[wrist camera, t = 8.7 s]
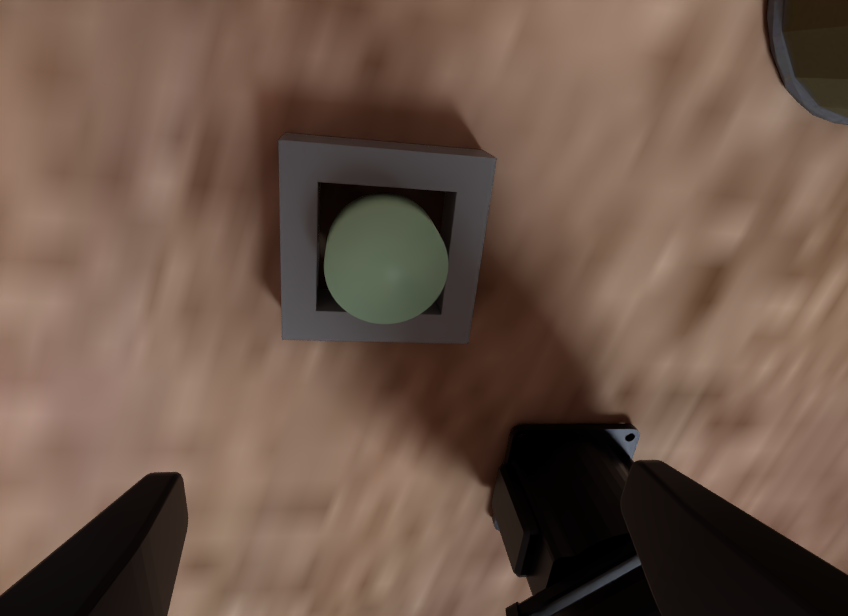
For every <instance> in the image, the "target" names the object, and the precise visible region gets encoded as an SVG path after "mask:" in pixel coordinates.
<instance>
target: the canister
mask: <svg viewBox="0 0 848 616" xmlns="http://www.w3.org/2000/svg"><path fill="white" fill-rule="evenodd" d="M767 21H768V30H769V39H770V48H771V52H772V55H773V58H774V60H775V63H776V65H777V68H778V71H779V73H780V76H781V78H782V81H783V83H784V85H785V88H786V89H787V90H788V91H789V93H790V94H791V95H792V96H793V97H794V98H795V99H796V101H797V102H799V103H800V104H801V105H802V106H803V107H804V108H805V109H806V110H808V111H809V112H810V113H811V114H812V115H814V116H817V117H820V118H822V119H825V120H828V121H831V122H833V123H838V124H845V125H848V0H769V1H768V11H767Z"/></svg>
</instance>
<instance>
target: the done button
mask: <svg viewBox="0 0 848 616" xmlns="http://www.w3.org/2000/svg"><path fill="white" fill-rule="evenodd" d="M447 274H448V255H447V250H446V247H445V244H444V242H443V240H442V238H441V236H440V234H439V232H438V231H437V229H436V227H435V225H434V224H433V222H432V220H431V218H430V217H429V216H428V214H427V213H426V212H425V211H424V210H423V209H422V208H421V207H420V206H419V205H418V204H416V203H415V202H413V201H412V200H410V199H408V198H406V197H403V196H400V195H397V194H391V193H375V194H369V195H365V196H363V197H360V198H358V199H356V200H354V201H352V202H351V203H349V204H348V205H347V206H345V207H344V208H343V209H342V210H341V211H340V212H339V214H338V215H337V216H336V218H335V219H334V221H333V223H332V224H331V227H330V229H329V232H328V236H327V242H326V250H325V258H324V275H325V280H326V283H327V286H328V289H329V291H330V293H331V295H332V296H333V298H334V299H335V301H336V302H337V303H338V304H339V305H340V306H341V307H342V308H343V309H344V310H345V311H347V312H348V313H349V314H351V315H353V316H354V317H356V318H359V319H361V320H364V321H367V322H371V323H375V324H394V323H400V322H403V321H407V320H409V319H412V318H414V317H416V316H418V315H419V314H421V313H422V312H424V311H425V310H426V309H428V308H429V307H430V306H431V305H432V304H433V303H434V301H435V300H436V299H437V298H438V296H439V295H440V293H441V291H442V289H443V287H444V285H445V282H446V279H447Z"/></svg>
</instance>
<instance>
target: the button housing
mask: <svg viewBox="0 0 848 616" xmlns="http://www.w3.org/2000/svg"><path fill="white" fill-rule="evenodd" d="M278 145H279V201H280V256H281V312H282V340H315V341H360V342H405V343H449V344H468V343H469V336H470V330H471V323H472V317H473V310H474V304H475V297H476V290H477V284H478V277H479V271H480V264H481V258H482V251H483V245H484V238H485V232H486V225H487V219H488V212H489V206H490V199H491V193H492V186H493V180H494V173H495V167H496V160H497V158H495V157H494V156H492V155H490V154H489V153H487V152H485V151H483V150H478V149H466V148H455V147H444V146H432V145H421V144H409V143H398V142H386V141H375V140H364V139H352V138H341V137H329V136H318V135H306V134H295V133H285V134H284V135H283V136H282V137H281V138H280V139H279V140H278ZM320 182H326V183H339V184H353V185H367V186H381V187H394V188H408V189H422V190H436V191H445V198H444V206H443V215H442V224H441V232H440V236H441V238H442V240H443V242H444V244H445V247H446V250H447V255H448V274H447V279H446V282H445V285H444V287H443V289H442V291H441V293H440V295H439V296H438V298H437V299H436V300H435V301H434V303H433V304H432V305H431V306H430V307H429V308H428V309H426V310H425V311H424V312H422V313H421V314H419V315H418V316H416V317H414V318H412V319H409V320H407V321H403V322H400V323H394V324H375V323H371V322H367V321H364V320H361V319H359V318H356V317H354V316H353V315H351V314H349V313H348V312H347V311H345V310H344V309H343V308H342V307H341V306H340V305H339V304H338V303H337V302H336V301H335V299H334V298H333V296H332V295H331V293H330V291H329V290H319V242H320Z"/></svg>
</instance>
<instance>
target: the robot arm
mask: <svg viewBox="0 0 848 616" xmlns="http://www.w3.org/2000/svg"><path fill="white" fill-rule="evenodd" d="M521 434H525V435H524V436H522V437H519V436H520V435H521ZM628 434H629V435H628ZM626 435H628V436H626ZM639 437H640V433H639V431H638V430H637V429H636V428H635V426H633V425H632V424H522V425H517V426H515V427H514V428H513V429H512V430H511V432H510V436H509V441H508V446H507V451H506V455H505V460H504V464H502V465H501V466H500V467H499V469H498V474H497V479H496V484H495V489H494V494H493V498H492V503H491V506H492V509H493V512H494V513H493V518H492V520H493V524H494V527H495V528H496V529H497V530H499V531H500V533H501V536H502V539H503V542H504V545H505V548H506V551H507V554H508V557H509V560H510V563H511V566H512V570H513V572H514V573H515V574H516V575H517V576H518V577H526V578H527V581H528V584H529V587H530V589H531V592H532V595H533V596H531V597H530V598H528V599H526V600H524V601H523V602H521V603H518V602H516V603H514V604H512V605H511V606H509V607H507V608H506V616H848V575H847V574H845V573H844V572H842V571H841V570H839V569H837V568H836V567H834V566H832V565H831V564H829V563H828V562H826V561H824V560H823V559H821V558H819V557H818V556H816V555H814V554H813V553H811V552H810V551H808V550H806V549H805V548H803V547H801V546H800V545H798V544H796V543H795V542H793V541H792V540H790V539H788V538H787V537H785V536H783V535H782V534H780V533H778V532H777V531H775V530H774V529H772V528H770V527H769V526H767V525H765V524H764V523H762V522H761V521H759V520H757V519H756V518H754V517H752V516H751V515H749V514H747V513H746V512H744V511H743V510H741V509H739V508H738V507H736V506H734V505H733V504H731V503H729V502H728V501H726V500H725V499H723V498H721V497H720V496H718V495H716V494H715V493H713V492H711V491H710V490H708V489H707V488H705V487H703V486H702V485H700V484H698V483H697V482H695V481H693V480H692V479H690V478H689V477H687V476H685V475H684V474H682V473H680V472H679V471H677V470H676V469H674V468H672V467H671V466H669V465H667V464H666V463H664V462H662V461H659V460H638V461H635V462H633V460H632V458H633V455H634V452H635V449H636V446H637V443H638V440H639ZM187 527H188V511H187V503H186V496H185V489H184V482H183V478H182V476H181V474H179V473H178V472H154V473H150V474H148V475H146V476H145V477H143V478H142V479H141V480H140V481H138V482H137V483H136V484H135V485H134V486H132V487H131V488H130V489H129V490H128V491H126V492H125V493H124V494H123V495H122V496H120V497H119V498H118V499H117V500H115V501H114V502H113V503H112V504H111V505H109V506H108V507H107V508H106V509H105V510H103V511H102V512H101V513H100V514H99V515H97V516H96V517H95V518H94V519H92V520H91V521H90V522H89V523H88V524H86V525H85V526H84V527H83V528H82V529H80V530H79V531H78V532H77V533H75V534H74V535H73V536H72V537H71V538H69V539H68V540H67V541H66V542H65V543H63V544H62V545H61V546H60V547H59V548H57V549H56V550H55V551H54V552H52V553H51V554H50V555H49V556H48V557H46V558H45V559H44V560H43V561H42V562H40V563H39V564H38V565H37V566H35V567H34V568H33V569H32V570H31V571H29V572H28V573H27V574H26V575H25V576H23V577H22V578H21V579H20V580H19V581H17V582H16V583H15V584H14V585H12V586H11V587H10V588H9V589H8V590H6V591H5V592H4V593H3V594H2V595H0V616H167V614H168V610H169V606H170V601H171V597H172V593H173V588H174V584H175V580H176V576H177V571H178V567H179V563H180V558H181V554H182V550H183V546H184V541H185V537H186V533H187Z"/></svg>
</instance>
